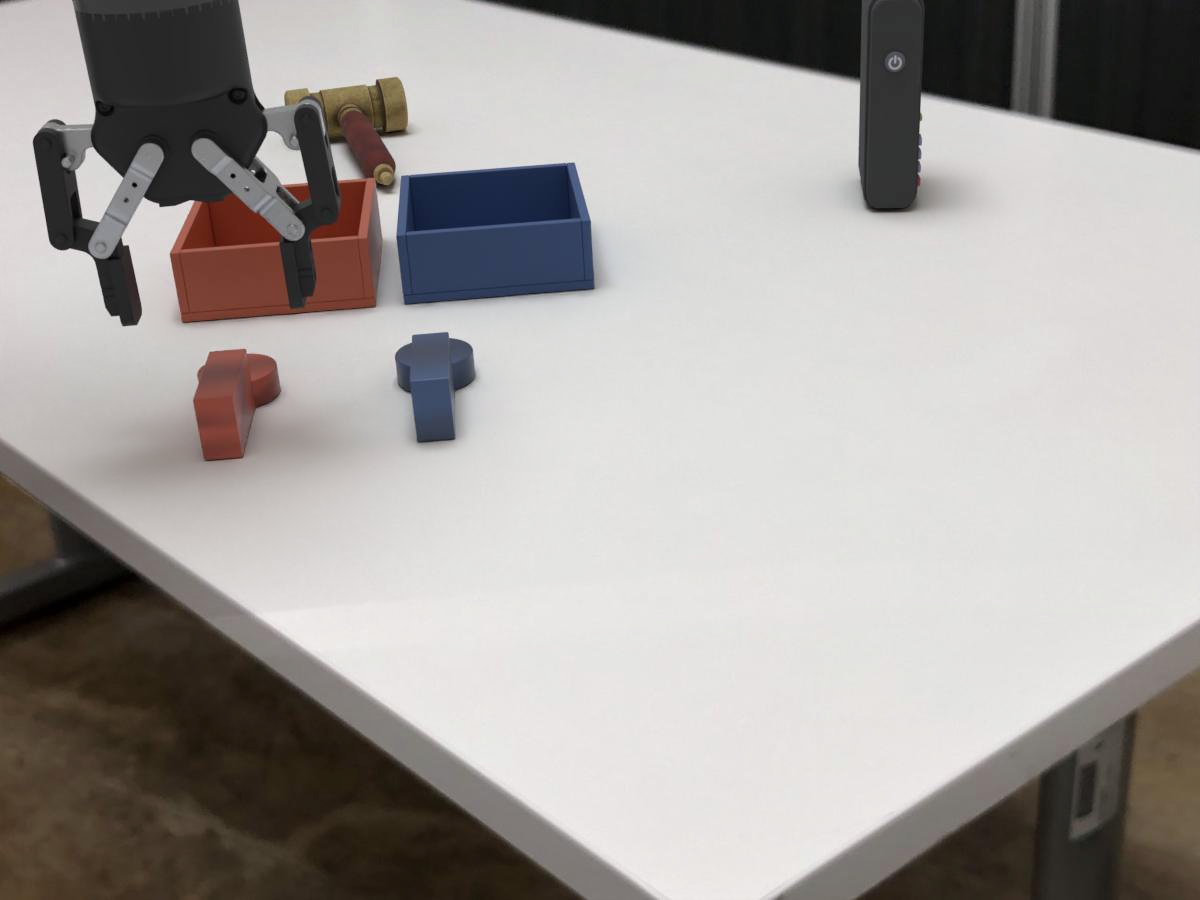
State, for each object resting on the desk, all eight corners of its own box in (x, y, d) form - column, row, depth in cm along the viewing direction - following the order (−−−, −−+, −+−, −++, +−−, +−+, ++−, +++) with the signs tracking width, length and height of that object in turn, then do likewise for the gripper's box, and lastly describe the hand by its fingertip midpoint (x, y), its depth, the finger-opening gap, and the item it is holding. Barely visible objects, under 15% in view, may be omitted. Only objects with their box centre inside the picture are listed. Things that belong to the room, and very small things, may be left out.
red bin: (182, 322, 99) (169, 253, 97) (209, 254, 111) (198, 191, 109) (375, 306, 100) (367, 237, 98) (382, 240, 111) (375, 177, 109)
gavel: (448, 143, 121) (319, 161, 119) (453, 199, 123) (326, 217, 121) (395, 70, 138) (281, 84, 136) (400, 120, 141) (288, 135, 138)
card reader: (921, 212, 111) (930, -5, 104) (863, 214, 111) (868, -3, 104) (911, 174, 119) (918, -29, 112) (857, 176, 119) (861, -27, 112)
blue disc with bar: (478, 437, 82) (472, 375, 80) (393, 444, 82) (386, 383, 80) (474, 359, 91) (469, 303, 90) (398, 366, 91) (391, 309, 89)
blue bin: (404, 304, 100) (396, 235, 98) (407, 238, 112) (400, 175, 110) (594, 288, 100) (590, 219, 98) (578, 224, 112) (574, 162, 110)
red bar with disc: (266, 455, 81) (256, 394, 80) (180, 463, 81) (168, 401, 79) (284, 375, 90) (275, 319, 89) (207, 382, 90) (197, 325, 89)
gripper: (312, -35, 77) (357, 275, 85) (20, -10, 77) (90, 300, 84) (300, -8, 71) (350, 326, 78) (-20, 19, 70) (60, 354, 77)
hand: (215, 312), depth 81 cm, fingers open, 8 cm apart
